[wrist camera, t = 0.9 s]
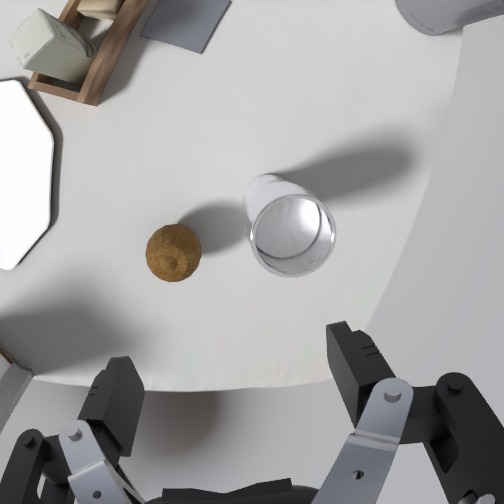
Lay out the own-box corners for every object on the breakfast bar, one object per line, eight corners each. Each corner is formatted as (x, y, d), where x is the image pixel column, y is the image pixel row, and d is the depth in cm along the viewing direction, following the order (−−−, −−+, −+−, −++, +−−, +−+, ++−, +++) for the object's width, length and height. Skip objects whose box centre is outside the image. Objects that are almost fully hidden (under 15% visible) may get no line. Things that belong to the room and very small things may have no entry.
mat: (171, -15, 27) (170, -16, 26) (229, 2, 28) (230, 1, 28) (140, 35, 29) (140, 35, 29) (200, 53, 31) (200, 53, 30)
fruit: (147, 225, 37) (128, 246, 30) (194, 210, 37) (186, 228, 30) (164, 270, 39) (151, 300, 32) (210, 257, 39) (206, 285, 32)
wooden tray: (103, -26, 24) (93, -38, 21) (160, -17, 26) (154, -31, 23) (43, 90, 29) (27, 87, 26) (96, 106, 31) (83, 103, 28)
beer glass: (244, 232, 38) (255, 287, 24) (234, 176, 36) (239, 199, 22) (300, 222, 39) (341, 270, 25) (292, 166, 36) (334, 184, 22)
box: (106, 64, 30) (57, 37, 18) (79, 86, 30) (22, 71, 18) (89, 37, 28) (39, 5, 16) (62, 59, 28) (6, 37, 16)
